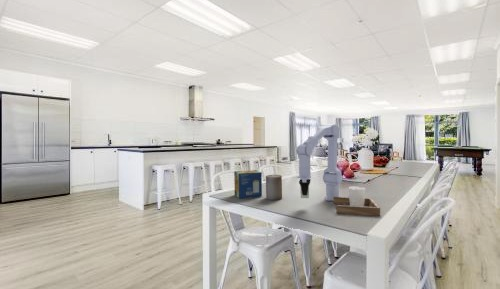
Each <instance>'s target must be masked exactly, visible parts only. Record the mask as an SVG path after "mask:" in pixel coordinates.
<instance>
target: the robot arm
mask: <svg viewBox="0 0 500 289" xmlns="http://www.w3.org/2000/svg"><path fill="white" fill-rule="evenodd" d="M317 129H318V130H317V131H316V132H315V133H314V135H311V136H308V138H307V139H306V140H305V141H304V142H303V143H301V144H299V145H298V146H297V147H296V150H295V151H296V154H297V159H298V175H296V178H298V179H299V181H298V183H299V185H300V190H301V189H302V194H303V195H307V192H308V187H309V188H310V184H311V178H312V176H311V156H312V154H313V152H314V149H315V148H316V147H317V146H318V144H319V141H320V140H321V139H322V138H323V139H326V141H327V142H328V143H327V167H326V168H325V169H324V170H323V174H322V181H323V183H324V184H325V196H324V198H325V201H332V202H334V197H340V185H341V184H342V182H343V175H342V171H341V170H340V168H338V139H340V127H339V126H338V124H337V123H333V124H332V123H331V124H320V125H319V126H318V127H317Z"/></svg>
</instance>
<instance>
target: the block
mask: <svg viewBox="0 0 500 289" xmlns="http://www.w3.org/2000/svg"><path fill="white" fill-rule="evenodd" d="M300 199H310V186H309V187H308V192H307V195H303V194H302V189H301V188H300Z"/></svg>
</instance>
